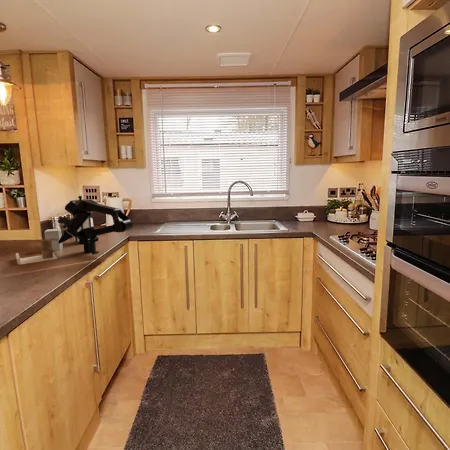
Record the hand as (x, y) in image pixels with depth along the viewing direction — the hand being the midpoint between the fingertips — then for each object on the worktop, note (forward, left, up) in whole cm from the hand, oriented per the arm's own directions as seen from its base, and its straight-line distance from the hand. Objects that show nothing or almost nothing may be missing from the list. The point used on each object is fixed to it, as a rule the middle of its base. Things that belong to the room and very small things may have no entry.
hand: (58, 243), depth 169 cm
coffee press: (-35, -8, -8) cm, 36 cm away
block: (+4, -4, -7) cm, 9 cm away
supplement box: (-12, -12, -8) cm, 18 cm away
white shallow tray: (+8, -7, -8) cm, 13 cm away
